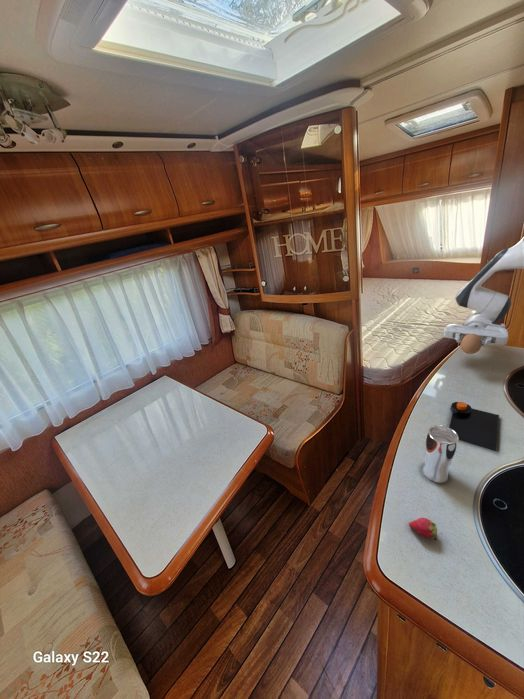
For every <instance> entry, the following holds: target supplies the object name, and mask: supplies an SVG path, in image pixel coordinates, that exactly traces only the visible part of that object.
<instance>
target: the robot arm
mask: <svg viewBox="0 0 524 699" xmlns="http://www.w3.org/2000/svg"><path fill="white" fill-rule="evenodd" d="M510 269H516V270H517V269H519V270H524V236H523V237H522V238H521V239H520V240H519V241H518V242H517V243H516V244H515V245H513V246H511V247H509V248H503V249H501V250H500V251H499V252H497V253H496V254H495V255H494V256H492V258H491V259H490V260H489V261H488V262H487V263H486V264H485V265H484V266H483V267H482V268H481V269H480V270H479V271H478V272H477V273H476V274H475V275H474V276H473V277H472V278H471V279H470V280H469V281H468V282H467V283H466V284H465V285H463V286H462V287H461V288H460V289H459V290H458V292H457V293H456V295H455V297H454V298H455V302H456V304H457V305H458V307H462V308H465V309H469V310H472V311H471V312H470V313H469V314H468V315H467V317H466V319H465V322H464V324H455V323H454V324H453V323H450V324H448V325H446V326H445V327H444V328H443V333H442V336H443V338H445V339H452V340H455V341H456V343H459V344H461V341H462V339H463V338H464V337H465V336H466V335H468V334H476V335H478V336H479V337H480V339H481V341H482V344H481V347H487V346H488V345H496V346H506V345H507V344H508V340H509V331H508V330H507V329H506V324H505V323H501V322H500V321H501V320H502V319H504V317H505V316H506V315H507V314H508V313H509V310H510V308H511V306H512V299H511V297H510V296H509V295H508V294H504V293H502V292H499V291H495V290H493V289H491V288H487V287H485V286H482V285H483V284H484V283H485V282H487V280H488V279H489V278H490V277H491V276H492V275H493V274H494V273H497V272H498V271H501V270H510Z"/></svg>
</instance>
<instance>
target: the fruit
mask: <svg viewBox="0 0 524 699" xmlns="http://www.w3.org/2000/svg"><path fill="white" fill-rule="evenodd" d="M408 526H409V527H410V528H411V529H413V531H415V532H416V533H417V535H419V536H421V537H423V538H425V539H433V540H434V541H435V542H436V541H438V528H437V523H436V522H433V521H432V520H430V519H429V518H427V517H419V518H417V519H414V520H412V521H409V522H408Z"/></svg>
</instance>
